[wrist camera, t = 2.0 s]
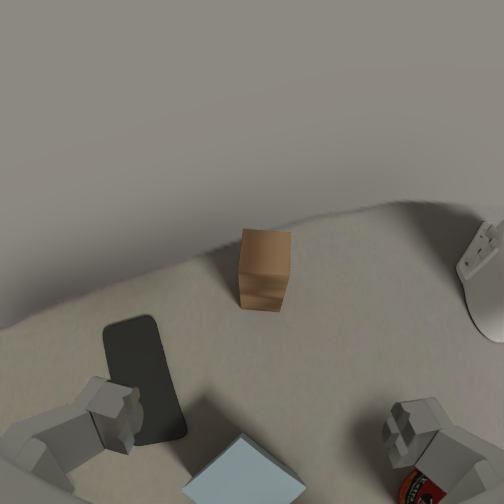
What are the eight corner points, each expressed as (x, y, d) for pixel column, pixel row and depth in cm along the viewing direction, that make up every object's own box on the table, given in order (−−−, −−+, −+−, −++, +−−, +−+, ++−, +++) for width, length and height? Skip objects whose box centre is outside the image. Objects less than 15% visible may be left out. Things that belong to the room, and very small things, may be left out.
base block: (242, 431, 27) (240, 437, 22) (297, 474, 25) (307, 487, 20) (192, 476, 25) (180, 490, 19) (247, 519, 22) (246, 539, 17)
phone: (129, 447, 25) (100, 328, 32) (132, 446, 26) (103, 330, 33) (189, 436, 27) (153, 313, 33) (191, 435, 27) (155, 315, 34)
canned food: (401, 467, 24) (454, 479, 14) (451, 457, 23) (508, 459, 14) (390, 519, 20) (436, 546, 11) (441, 506, 20) (493, 521, 10)
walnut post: (281, 277, 37) (290, 232, 28) (279, 312, 34) (289, 275, 26) (244, 274, 37) (243, 228, 28) (241, 309, 34) (237, 271, 26)
